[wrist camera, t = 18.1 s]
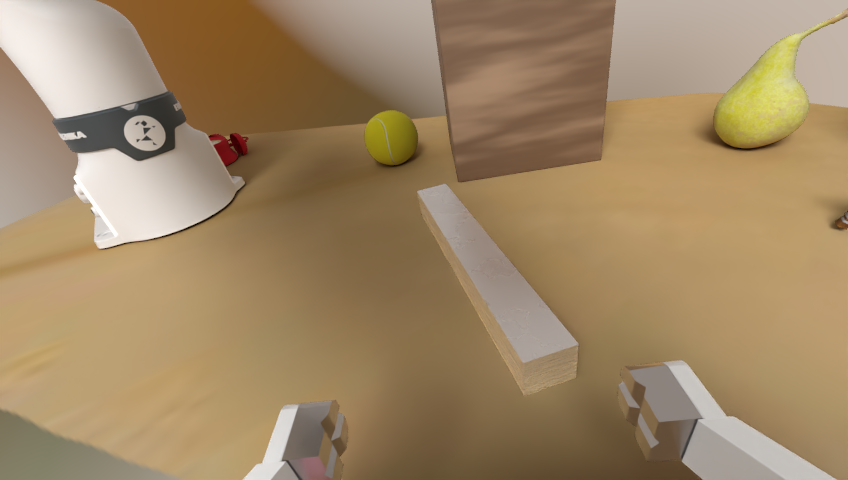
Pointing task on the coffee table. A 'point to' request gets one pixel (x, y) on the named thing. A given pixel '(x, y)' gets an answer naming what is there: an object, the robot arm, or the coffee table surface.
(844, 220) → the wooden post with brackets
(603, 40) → the brown patterned box
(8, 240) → the coffee table surface
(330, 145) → the coffee table surface
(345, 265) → the coffee table surface
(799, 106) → the fruit
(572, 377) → the aluminium bar
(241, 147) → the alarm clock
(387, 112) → the tennis ball
